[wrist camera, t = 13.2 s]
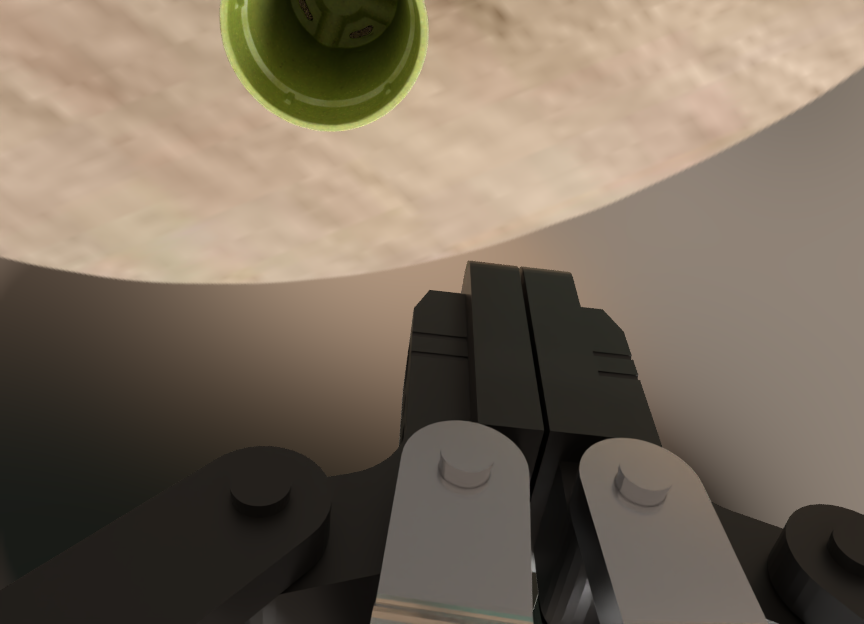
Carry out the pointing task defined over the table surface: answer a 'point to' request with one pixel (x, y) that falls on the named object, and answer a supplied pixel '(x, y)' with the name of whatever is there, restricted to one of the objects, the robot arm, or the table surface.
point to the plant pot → (326, 57)
